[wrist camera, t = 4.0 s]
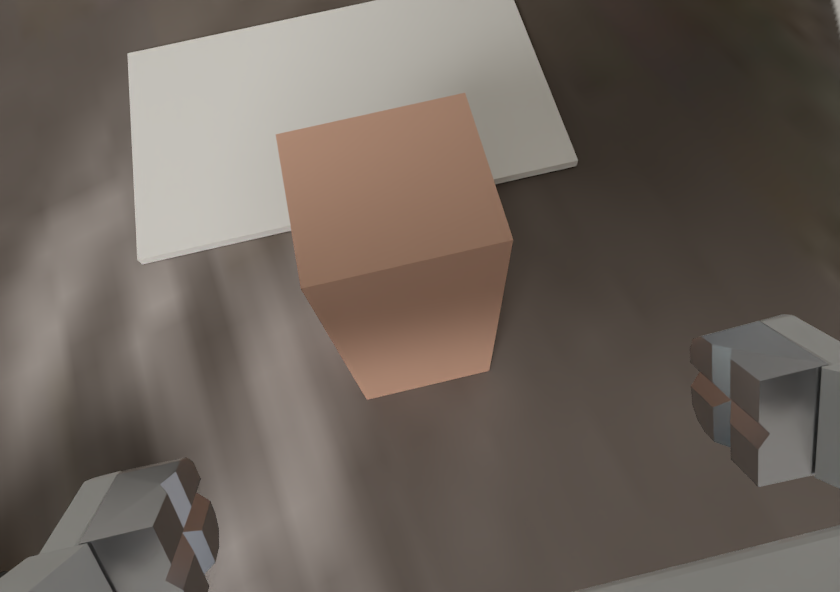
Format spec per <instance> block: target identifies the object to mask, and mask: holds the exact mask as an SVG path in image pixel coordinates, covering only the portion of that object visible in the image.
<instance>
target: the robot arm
mask: <svg viewBox="0 0 840 592" xmlns="http://www.w3.org/2000/svg"><path fill="white" fill-rule="evenodd" d="M690 363H691V364H692V365H693V366H694V367H695V368H696V369H697V370H698V371H699V374H698V376H697V377H696V379H695V381H694V382H693V384H692V385H691V394H692V405H693V408H694V411H695V414H696V417H697V420H698V422H699V423H700V425H701V427H702V428H703V430H704V432H705V433H706V434H707V435H708V436H709V437H710V438H711V439H712V440H713V441H714V442H716V443H719V444H722V445H725V446H728V447H731V460H732V461H733V462H734V463H735V464H736V465H737V466H738V467H739V468H740V469H741V470H742V471H743V472H744V473H745V474H746V475H747V476H748V477H749V478H750V479H751V480H752V481H753V482H754V483H755V484H756V485H757V486H758V487H760V486H765V485H769V484H774V483H779V482H783V481H788V480H792V479H797V478H802V477H806V476H811V475H815V478H817V479H819V480H822V481H824V482H826V483H828V484H831V485H833V486H835V487H837V488H839V489H840V341H838V340H836V339H834V338H832V337H831V336H829V335H827V334H825V333H823V332H822V331H820V330H818V329H816V328H815V327H813V326H811V325H809V324H807V323H806V322H804V321H802V320H800V319H799V318H797V317H795V316H793V315H786V314H782V315H778V316H775V317H771V318H768V319H764V320H760V321H757V322H753V323H750V324H746V325H742V326H738V327H734V328H731V329H727V330H723V331H719V332H715V333H712V334H708V335H704V336H700V337H697V338H693V339H692V343H691V346H690ZM200 480H201V478H200V476H199V474H198V471H197V469H196V467H195V465H194V463H193V461H191V460H190V459H188V458H187V457H184V458H180V459H175V460H170V461H166V462H161V463H156V464H152V465H147V466H143V467H138V468H133V469H129V470H124V471H118V472H114V473H110V474H106V475H102V476H98V477H94V478H91V479H89V480H87V481H85V482H84V483H83V485H82V486H81V488H80V489H79V491H78V493H77V494H76V496H75V497H74V499H73V501H72V502H71V504H70V505H69V507H68V508H67V510H66V512H65V513H64V515H63V516H62V518H61V520H60V521H59V523H58V524H57V526H56V528H55V529H54V531H53V532H52V534H51V536H50V537H49V539H48V540H47V542H46V543H45V545H44V547H43V548H42V550H41V551H40V553H39V555H35V556H31V557H27V558H26V559H25V560H23V561H22V562H21V563H19V564H18V565H17V566H16V567H14V568H13V569H12V570H10V571H9V572H8V573H6V574H5V575H4V576H2V577H1V578H0V592H208V589H209V585H208V582H207V580H206V578H205V575H204V574H205V573H206V572H207V571H208V570H209V569H210V568H211V567H212V565H213V564H214V563H215V562H216V557H217V553H218V549H219V528H218V523H217V519H216V515H215V512H214V509H213V507H212V504H211V502H210V501H209V500H208V499H206V498H204V497H203V496H201V495H200V494H198V493H196V492H197V489H198V486H199V483H200ZM573 592H840V525H838V526H834V527H830V528H826V529H822V530H818V531H814V532H810V533H806V534H802V535H798V536H794V537H790V538H786V539H782V540H778V541H774V542H770V543H766V544H762V545H758V546H754V547H750V548H746V549H742V550H738V551H734V552H730V553H726V554H722V555H718V556H714V557H710V558H706V559H702V560H698V561H694V562H690V563H686V564H682V565H678V566H674V567H670V568H665V569H661V570H657V571H653V572H649V573H645V574H641V575H637V576H633V577H629V578H625V579H621V580H617V581H613V582H609V583H605V584H601V585H597V586H593V587H589V588H585V589H581V590H577V591H573Z"/></svg>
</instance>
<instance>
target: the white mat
mask: <svg viewBox="0 0 840 592" xmlns="http://www.w3.org/2000/svg"><path fill="white" fill-rule="evenodd" d="M128 73H129V94H130V115H131V136H132V157H133V178H134V199H135V220H136V241H137V260H138V261H139V262H140V263H141V264H146V263H151V262H155V261H159V260H164V259H168V258H173V257H177V256H181V255H186V254H190V253H195V252H199V251H203V250H208V249H212V248H217V247H221V246H226V245H230V244H234V243H239V242H243V241H248V240H252V239H256V238H261V237H265V236H270V235H274V234H279V233H283V232H287V231H291V225H290V219H289V213H288V207H287V201H286V195H285V189H284V183H283V177H282V170H281V164H280V158H279V152H278V146H277V140H276V134H280V133H284V132H289V131H293V130H298V129H302V128H307V127H311V126H316V125H320V124H325V123H330V122H334V121H339V120H343V119H348V118H352V117H357V116H361V115H366V114H370V113H375V112H379V111H384V110H388V109H393V108H398V107H402V106H407V105H411V104H416V103H420V102H425V101H429V100H434V99H438V98H443V97H447V96H452V95H457V94H461V93H465V94H466V97H467V100H468V103H469V106H470V109H471V112H472V116H473V119H474V122H475V125H476V128H477V131H478V134H479V137H480V140H481V143H482V146H483V149H484V152H485V155H486V158H487V161H488V164H489V167H490V170H491V173H492V176H493V179H494V182H495V184H499V183H504V182H508V181H513V180H517V179H521V178H526V177H530V176H535V175H539V174H543V173H548V172H552V171H557V170H561V169H565V168H570V167H574V166H576V165H577V162H578V159H577V156H576V154H575V151H574V149H573V146H572V144H571V141H570V139H569V136H568V134H567V131H566V129H565V126H564V124H563V121H562V119H561V116H560V114H559V111H558V109H557V106H556V104H555V101H554V99H553V96H552V94H551V91H550V89H549V86H548V84H547V81H546V79H545V76H544V74H543V71H542V69H541V66H540V64H539V61H538V59H537V56H536V54H535V51H534V49H533V46H532V44H531V41H530V39H529V37H528V34H527V32H526V29H525V27H524V24H523V22H522V19H521V17H520V14H519V12H518V9H517V7H516V4H515V2H514V0H375V1H371V2H366V3H361V4H357V5H352V6H347V7H343V8H338V9H333V10H329V11H324V12H319V13H315V14H310V15H305V16H301V17H296V18H291V19H286V20H282V21H277V22H272V23H268V24H263V25H258V26H254V27H249V28H244V29H240V30H235V31H230V32H226V33H221V34H216V35H212V36H207V37H202V38H198V39H193V40H188V41H183V42H179V43H174V44H169V45H165V46H160V47H155V48H151V49H146V50H141V51H137V52H132V53H128Z"/></svg>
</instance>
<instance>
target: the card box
mask: <svg viewBox="0 0 840 592" xmlns="http://www.w3.org/2000/svg"><path fill="white" fill-rule="evenodd" d="M276 140H277V146H278V152H279V158H280V164H281V170H282V177H283V183H284V189H285V195H286V201H287V207H288V213H289V219H290V225H291V231H292V237H293V243H294V250H295V256H296V262H297V268H298V274H299V280H300V286H301V290H302V291H303V293H304V295H305V296H306V298H307V300H308V301H309V303H310V305H311V306H312V308H313V310H314V312H315V313H316V315H317V317H318V318H319V320H320V322H321V323H322V325H323V327H324V328H325V330H326V332H327V333H328V335H329V337H330V338H331V340H332V342H333V343H334V345H335V347H336V348H337V350H338V352H339V354H340V355H341V357H342V359H343V360H344V362H345V364H346V365H347V367H348V369H349V370H350V372H351V374H352V375H353V377H354V379H355V380H356V382H357V384H358V385H359V387H360V389H361V390H362V392H363V394H364V396H365V397H366V399H367V400H368V399H372V398H377V397H381V396H385V395H389V394H393V393H398V392H402V391H406V390H410V389H414V388H419V387H423V386H427V385H431V384H435V383H440V382H444V381H448V380H452V379H456V378H461V377H465V376H469V375H473V374H477V373H482V372H486V371H489V369H490V364H491V358H492V353H493V347H494V342H495V337H496V331H497V326H498V320H499V315H500V309H501V304H502V299H503V293H504V288H505V282H506V277H507V272H508V266H509V261H510V255H511V250H512V244H513V237H512V234H511V231H510V228H509V225H508V222H507V219H506V216H505V213H504V210H503V207H502V204H501V201H500V198H499V195H498V192H497V189H496V186H495V182H494V179H493V176H492V173H491V170H490V167H489V164H488V161H487V158H486V155H485V152H484V149H483V146H482V143H481V140H480V137H479V134H478V131H477V128H476V125H475V122H474V119H473V116H472V112H471V109H470V106H469V103H468V100H467V97H466V94H465V93H461V94H457V95H452V96H447V97H443V98H438V99H434V100H429V101H425V102H420V103H416V104H411V105H407V106H402V107H398V108H393V109H388V110H384V111H379V112H375V113H370V114H366V115H361V116H357V117H352V118H348V119H343V120H339V121H334V122H330V123H325V124H320V125H316V126H311V127H307V128H302V129H298V130H293V131H289V132H284V133H280V134H276Z"/></svg>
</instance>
